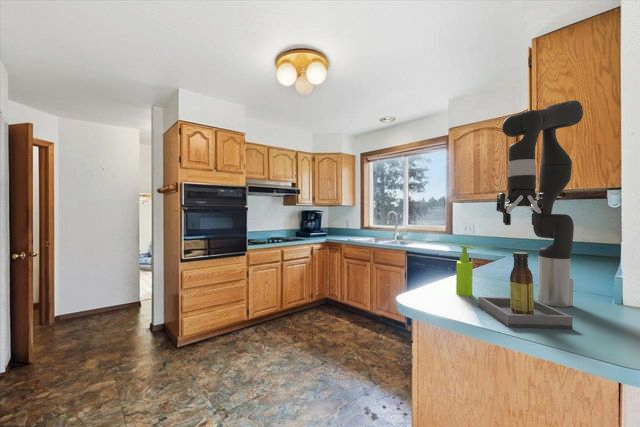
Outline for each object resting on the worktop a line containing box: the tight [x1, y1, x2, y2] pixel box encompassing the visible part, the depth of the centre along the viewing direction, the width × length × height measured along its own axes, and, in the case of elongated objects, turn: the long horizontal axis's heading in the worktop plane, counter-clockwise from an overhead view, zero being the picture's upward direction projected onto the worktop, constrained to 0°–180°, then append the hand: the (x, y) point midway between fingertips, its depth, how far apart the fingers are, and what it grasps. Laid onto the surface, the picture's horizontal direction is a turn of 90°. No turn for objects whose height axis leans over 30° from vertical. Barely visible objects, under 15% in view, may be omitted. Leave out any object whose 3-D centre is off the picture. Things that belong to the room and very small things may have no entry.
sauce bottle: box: [509, 251, 535, 314], centre depth 92 cm, size 6×6×20 cm
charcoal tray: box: [477, 296, 573, 330], centre depth 92 cm, size 18×18×4 cm
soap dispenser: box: [455, 245, 476, 297], centre depth 117 cm, size 6×7×20 cm
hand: (521, 225), depth 92 cm, fingers open, 8 cm apart
